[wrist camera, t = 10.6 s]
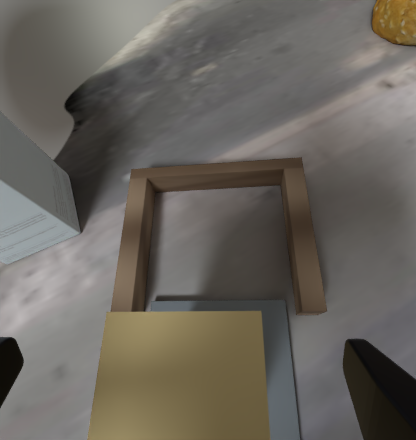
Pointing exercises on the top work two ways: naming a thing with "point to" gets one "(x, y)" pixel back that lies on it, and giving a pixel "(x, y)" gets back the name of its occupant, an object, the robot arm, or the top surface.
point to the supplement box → (31, 197)
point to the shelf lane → (218, 179)
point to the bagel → (395, 21)
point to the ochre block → (181, 377)
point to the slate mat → (273, 350)
